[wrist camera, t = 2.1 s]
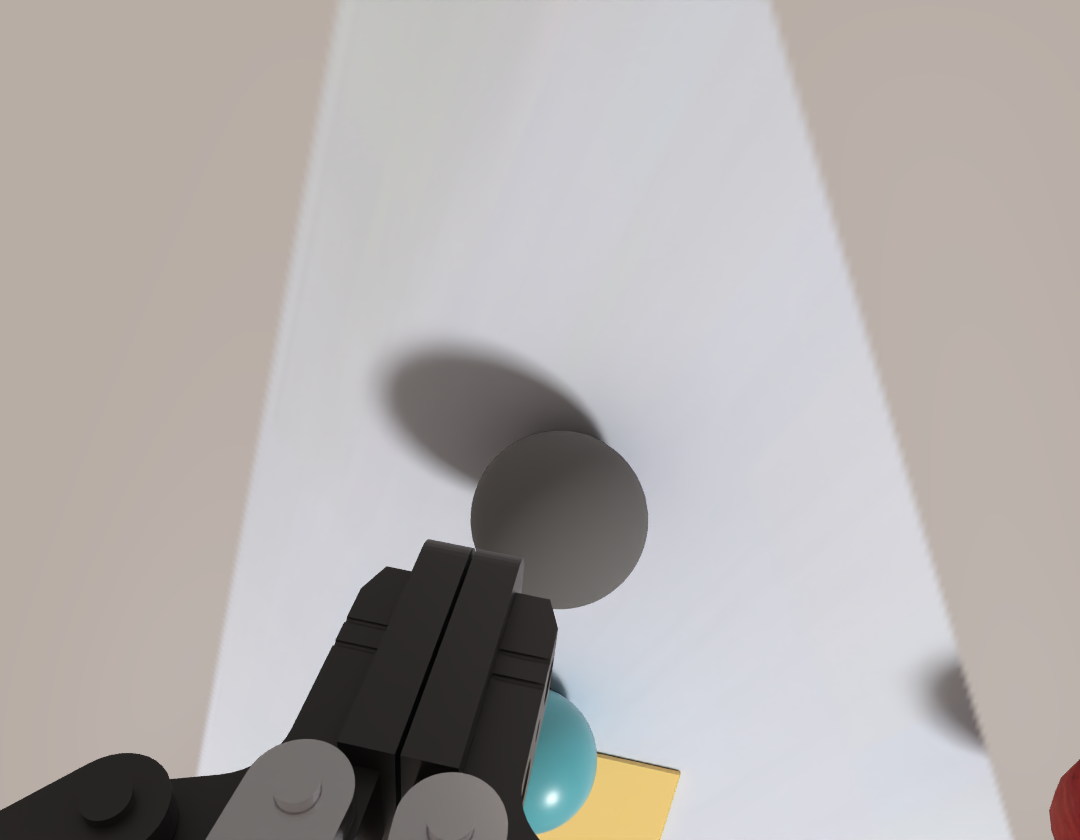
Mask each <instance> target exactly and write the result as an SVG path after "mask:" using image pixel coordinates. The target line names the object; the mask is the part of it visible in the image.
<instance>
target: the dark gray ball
mask: <svg viewBox="0 0 1080 840" xmlns="http://www.w3.org/2000/svg"><path fill="white" fill-rule="evenodd" d="M471 531H472V538H473V542H474V545H475V548H476V550H477V549H481V550H486V551H491V552H496V553H501V554H506V555H511V556H516V557H521V558H524V574H523V584H522V594H526V595H531V596H536V597H541V598H546V599H550V601H551V604H552V608H553V609H570V608H576V607H580V606H584V605H587V604H590V603H593V602H595V601H597V600H599V599H601V598H603V597H605V596H606V595H608V594H610V593H611V592H612V591H614V590H615V589H616V588H617V587H618V586H619V585H620V584H622V583H623V582H624V581H625V579H626V578H627V577H628V576H629V575H630V573H631V572H632V570H633V569H634V567H635V566H636V564H637V562H638V560H639V558H640V556H641V554H642V551H643V548H644V545H645V541H646V536H647V531H648V511H647V505H646V499H645V495H644V492H643V489H642V487H641V484H640V482H639V480H638V478H637V476H636V474H635V473H634V471H633V470H632V468H631V467H630V466H629V464H628V463H627V462H626V461H625V459H624V458H623V457H622V456H621V455H620V454H619V453H617V452H616V451H615V450H614V449H612V448H611V447H609V446H608V445H606V444H605V443H604V442H602V441H600V440H598V439H596V438H593V437H591V436H588V435H585V434H582V433H578V432H572V431H547V432H541V433H537V434H533V435H530V436H528V437H525V438H523V439H521V440H519V441H517V442H515V443H513V444H512V445H510V446H509V447H507V448H506V449H505V450H504V451H502V452H501V453H500V454H499V455H498V456H497V457H496V458H495V459H494V460H493V461H492V462H491V464H490V465H489V466H488V467H487V469H486V470H485V472H484V474H483V475H482V477H481V479H480V481H479V483H478V485H477V488H476V491H475V494H474V497H473V502H472V508H471Z"/></svg>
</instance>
